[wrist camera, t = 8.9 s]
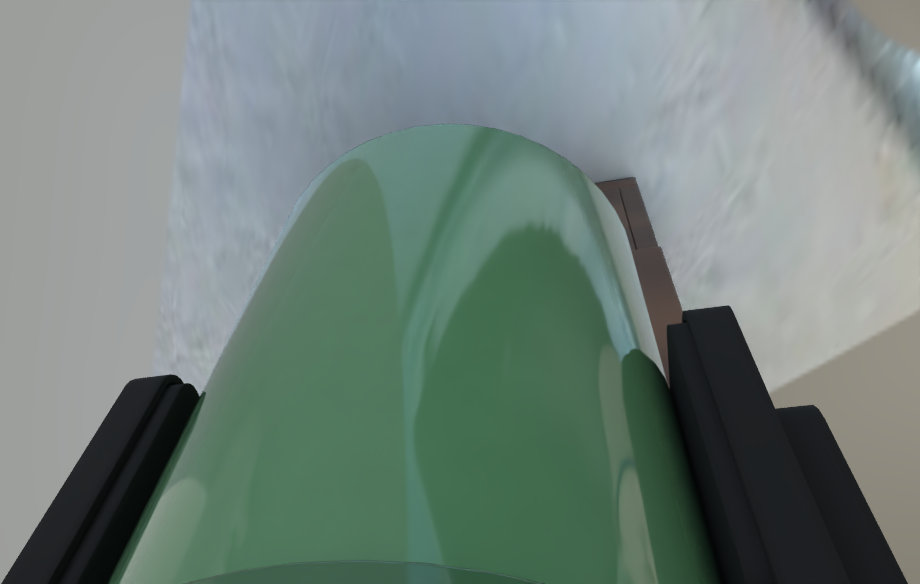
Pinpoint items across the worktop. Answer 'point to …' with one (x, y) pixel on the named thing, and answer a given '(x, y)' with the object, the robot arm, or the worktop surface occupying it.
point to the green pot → (435, 391)
